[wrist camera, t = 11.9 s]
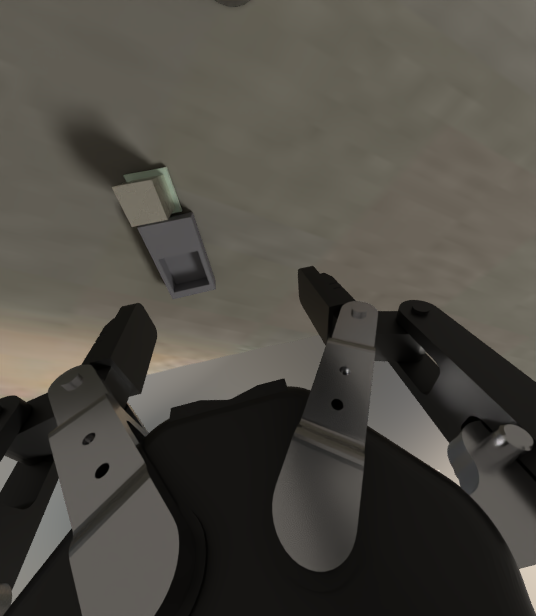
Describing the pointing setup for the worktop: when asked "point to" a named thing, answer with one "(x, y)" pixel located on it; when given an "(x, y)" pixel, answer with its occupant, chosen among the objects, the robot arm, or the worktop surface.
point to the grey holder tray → (179, 255)
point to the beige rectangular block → (145, 200)
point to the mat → (155, 173)
